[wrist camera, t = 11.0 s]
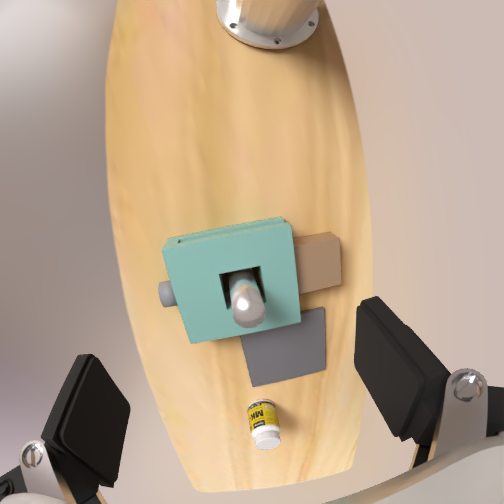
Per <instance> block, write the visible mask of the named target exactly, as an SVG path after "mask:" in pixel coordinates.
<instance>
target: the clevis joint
mask: <svg viewBox="0 0 504 504" xmlns="http://www.w3.org/2000/svg"><path fill="white" fill-rule="evenodd" d="M162 253H163V257H164V261H165V264H166V268H167V271H168V275H169V278H170V281H166V282H160V283H159V297H160V300H161V303H162V305H163V307H170V306H176V305H178V308H179V311H180V314H181V317H182V320H183V323H184V326H185V329H186V332H187V335H188V338H189V341H190V343H191V344H193V343H199V342H205V341H211V340H217V339H222V338H228V337H233V336H239V335H244V334H249V333H254V332H258V331H263V330H268V329H273V328H277V327H281V326H286V325H290V324H294V323H299V322H301V316H300V304H299V294H302V293H306V292H311V291H315V290H319V289H323V288H327V287H331V286H336V285H340V284H341V258H340V239H339V238H338V237H337V236H335V235H334V234H332V233H331V232H326V233H321V234H315V235H310V236H305V237H300V238H294V239H293V238H292V230H291V225H290V224H289V223H288V222H284V219H283V218H282V217H275V218H270V219H264V220H259V221H253V222H248V223H243V224H237V225H232V226H227V227H222V228H217V229H212V230H207V231H202V232H197V233H192V234H187V235H182V236H177V237H172V238H168V240H167V242H166V243H165V245H164V247H163V249H162ZM252 267H257V269H258V275H259V281H260V285H259V286H258V289H259V292H260V295H261V298H262V301H263V304H264V307H265V310H266V317H265V319H264V321H263V322H262V323H261V324H260V325H259V326H257V327H254V328H243V327H240V326H239V325H237V324H236V322H235V321H234V318H233V311H232V303H231V296H230V291H229V292H225V289H224V284H223V280H222V275H221V273H226V272H231V271H236V270H241V269H247V268H252Z"/></svg>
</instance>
